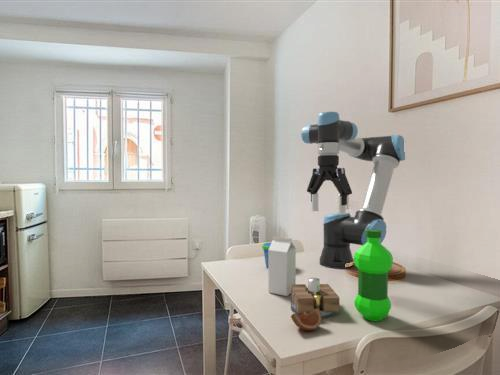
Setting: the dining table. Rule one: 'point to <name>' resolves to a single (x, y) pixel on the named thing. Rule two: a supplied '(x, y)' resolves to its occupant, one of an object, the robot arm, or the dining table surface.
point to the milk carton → (281, 266)
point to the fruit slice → (307, 319)
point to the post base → (323, 314)
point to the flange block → (307, 301)
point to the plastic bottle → (373, 277)
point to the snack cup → (266, 252)
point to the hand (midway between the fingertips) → (327, 212)
